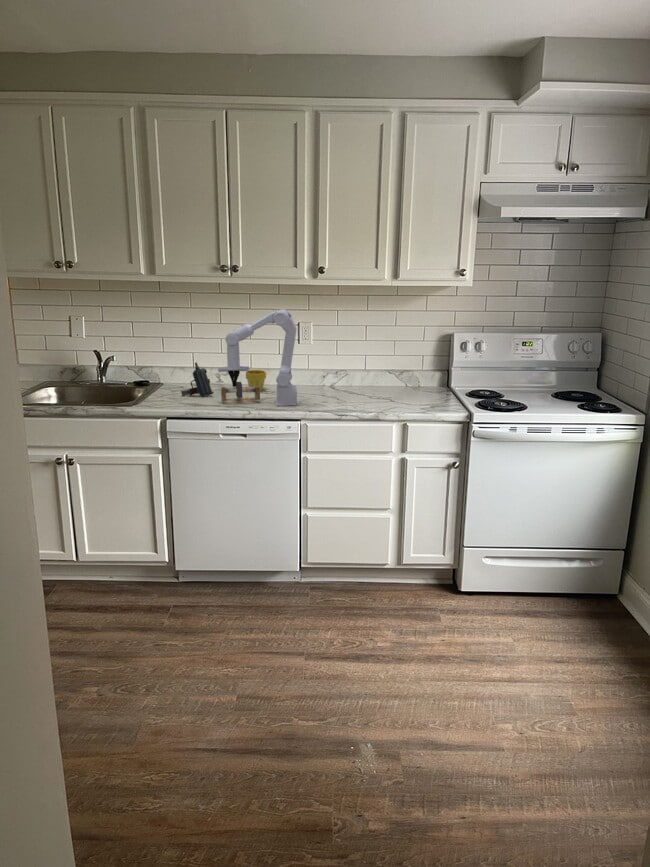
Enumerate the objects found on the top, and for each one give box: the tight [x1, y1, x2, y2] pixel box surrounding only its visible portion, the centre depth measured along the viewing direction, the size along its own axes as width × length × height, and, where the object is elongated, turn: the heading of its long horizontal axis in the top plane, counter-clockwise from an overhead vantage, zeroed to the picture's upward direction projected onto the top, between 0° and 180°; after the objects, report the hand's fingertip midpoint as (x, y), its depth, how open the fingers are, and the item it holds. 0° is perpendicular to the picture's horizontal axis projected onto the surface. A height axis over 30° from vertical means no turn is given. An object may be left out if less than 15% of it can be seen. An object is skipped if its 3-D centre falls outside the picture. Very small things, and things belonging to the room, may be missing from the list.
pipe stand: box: [220, 386, 261, 405], centre depth 305 cm, size 18×6×7 cm, turn 102°
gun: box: [180, 362, 214, 398], centre depth 313 cm, size 3×17×15 cm
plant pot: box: [245, 369, 267, 392], centre depth 328 cm, size 10×10×10 cm
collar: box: [235, 381, 243, 398], centre depth 304 cm, size 2×6×6 cm, turn 12°
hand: (234, 386), depth 303 cm, fingers closed
